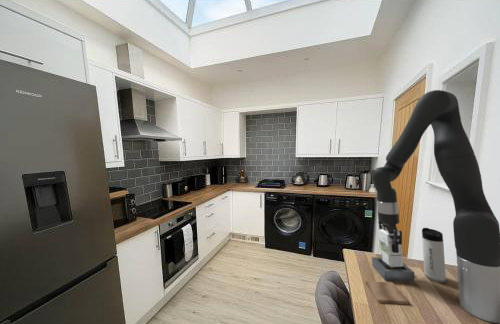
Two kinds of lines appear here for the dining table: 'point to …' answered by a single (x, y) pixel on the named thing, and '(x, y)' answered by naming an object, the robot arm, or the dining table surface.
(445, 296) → the dining table surface
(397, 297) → the walnut board
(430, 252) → the travel mug
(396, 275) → the frame
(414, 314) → the dining table surface
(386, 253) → the syrup box
